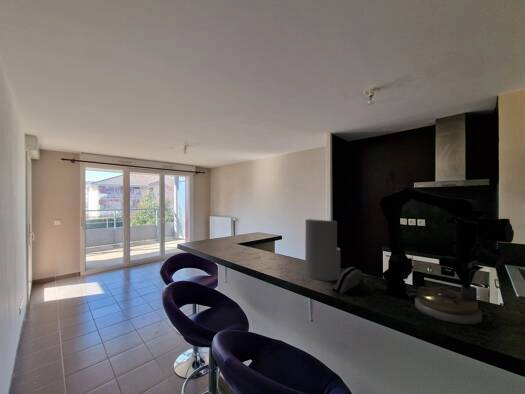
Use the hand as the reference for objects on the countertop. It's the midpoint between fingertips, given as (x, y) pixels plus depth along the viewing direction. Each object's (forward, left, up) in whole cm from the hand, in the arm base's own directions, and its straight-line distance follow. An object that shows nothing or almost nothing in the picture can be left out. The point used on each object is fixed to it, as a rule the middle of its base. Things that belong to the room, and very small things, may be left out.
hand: (466, 288), depth 75 cm
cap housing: (-7, +1, -10) cm, 12 cm away
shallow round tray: (-7, +1, -8) cm, 10 cm away
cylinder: (-56, -14, -10) cm, 58 cm away
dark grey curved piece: (-36, -15, -10) cm, 41 cm away
